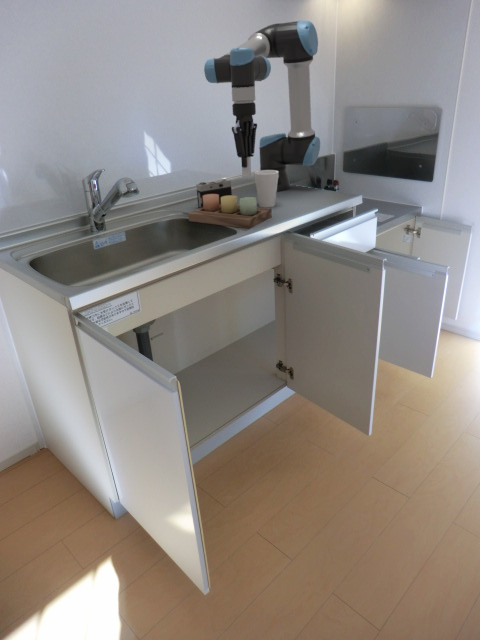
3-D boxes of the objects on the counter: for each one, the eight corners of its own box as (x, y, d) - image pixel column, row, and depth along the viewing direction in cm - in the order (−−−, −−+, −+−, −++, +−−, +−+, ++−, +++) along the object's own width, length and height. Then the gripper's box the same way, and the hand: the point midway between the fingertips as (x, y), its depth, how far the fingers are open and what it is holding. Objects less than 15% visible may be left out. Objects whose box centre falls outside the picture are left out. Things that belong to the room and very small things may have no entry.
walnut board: (213, 210, 190) (212, 203, 189) (271, 217, 178) (271, 208, 176) (189, 221, 178) (188, 213, 177) (249, 228, 166) (249, 219, 164)
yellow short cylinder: (227, 208, 180) (226, 194, 178) (240, 209, 177) (240, 196, 175) (218, 212, 176) (217, 198, 174) (232, 213, 173) (231, 199, 171)
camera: (223, 200, 206) (221, 176, 201) (232, 204, 199) (231, 179, 195) (193, 206, 199) (191, 181, 195) (202, 209, 193) (200, 184, 189)
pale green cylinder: (245, 210, 176) (244, 196, 174) (259, 211, 174) (259, 197, 171) (237, 214, 172) (236, 200, 170) (251, 215, 169) (250, 201, 167)
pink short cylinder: (209, 206, 184) (208, 193, 182) (222, 207, 181) (221, 194, 179) (200, 210, 180) (199, 196, 177) (213, 211, 177) (212, 198, 175)
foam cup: (277, 208, 189) (276, 174, 183) (253, 208, 191) (252, 174, 185) (280, 202, 197) (279, 169, 191) (257, 202, 199) (256, 170, 193)
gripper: (244, 101, 163) (247, 173, 174) (223, 103, 153) (227, 179, 164) (263, 100, 160) (265, 174, 170) (243, 103, 150) (246, 180, 160)
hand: (246, 176), depth 167 cm, fingers closed
